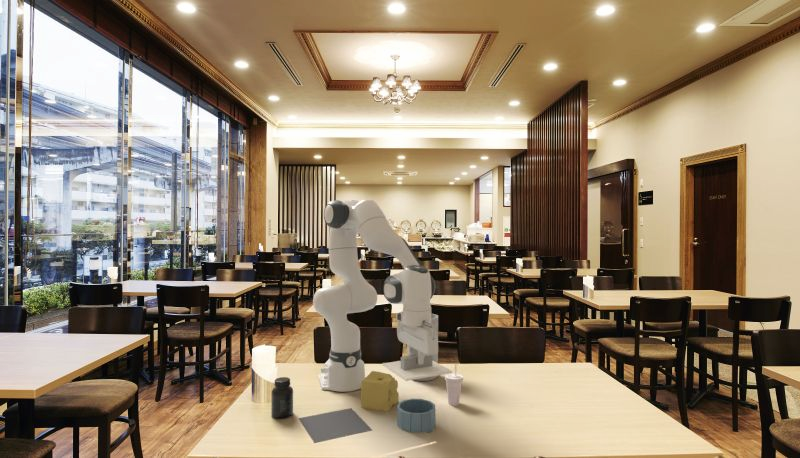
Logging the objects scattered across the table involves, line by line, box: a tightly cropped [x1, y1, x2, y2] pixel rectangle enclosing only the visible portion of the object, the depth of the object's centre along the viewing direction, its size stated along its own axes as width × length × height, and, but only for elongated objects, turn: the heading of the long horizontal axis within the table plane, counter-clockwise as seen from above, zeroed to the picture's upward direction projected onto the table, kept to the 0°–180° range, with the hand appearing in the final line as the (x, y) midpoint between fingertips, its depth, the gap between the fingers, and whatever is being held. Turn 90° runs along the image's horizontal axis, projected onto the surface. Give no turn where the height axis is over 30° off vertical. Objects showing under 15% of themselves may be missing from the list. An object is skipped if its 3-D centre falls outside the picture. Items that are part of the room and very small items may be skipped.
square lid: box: [382, 354, 453, 382], centre depth 141 cm, size 16×16×4 cm
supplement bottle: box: [270, 376, 294, 420], centre depth 147 cm, size 7×7×12 cm
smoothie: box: [444, 363, 464, 407], centre depth 158 cm, size 6×6×14 cm
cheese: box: [360, 370, 400, 412], centre depth 156 cm, size 10×11×10 cm
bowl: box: [396, 398, 436, 434], centre depth 141 cm, size 12×12×6 cm
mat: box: [298, 407, 373, 444], centre depth 141 cm, size 18×18×1 cm
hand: (416, 362), depth 141 cm, fingers closed on square lid, 2 cm apart
